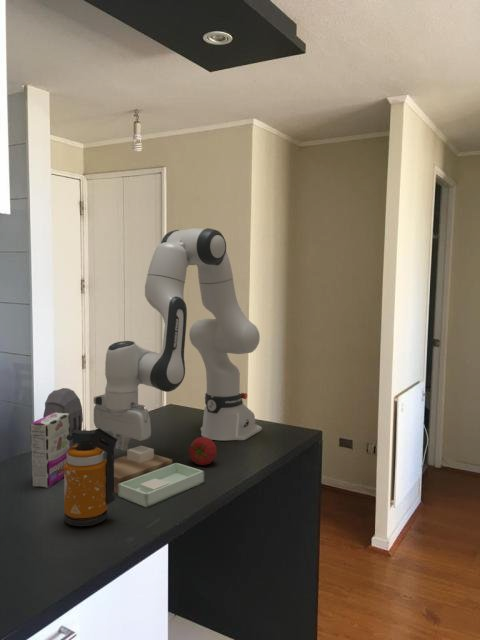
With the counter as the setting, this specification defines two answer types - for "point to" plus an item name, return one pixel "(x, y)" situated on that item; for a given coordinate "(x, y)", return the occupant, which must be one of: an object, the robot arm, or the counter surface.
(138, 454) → the tile
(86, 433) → the canister
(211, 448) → the tomato
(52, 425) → the candy bar box
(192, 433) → the counter surface
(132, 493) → the tray
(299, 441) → the counter surface
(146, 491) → the tile
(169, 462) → the board
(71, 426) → the small grey backpack
